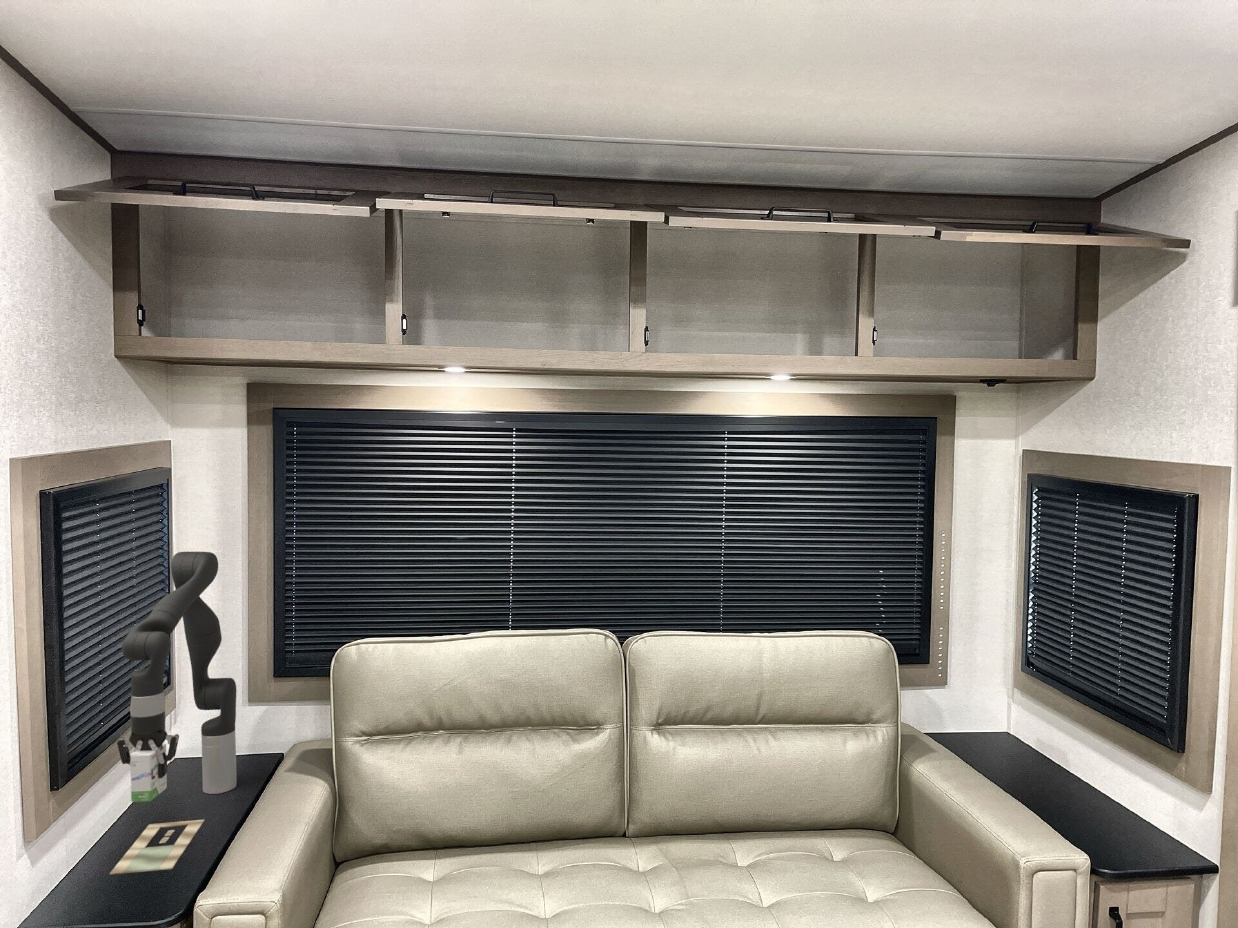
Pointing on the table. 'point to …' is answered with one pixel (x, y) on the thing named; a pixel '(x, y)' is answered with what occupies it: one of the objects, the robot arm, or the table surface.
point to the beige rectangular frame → (156, 849)
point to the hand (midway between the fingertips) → (149, 777)
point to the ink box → (146, 776)
